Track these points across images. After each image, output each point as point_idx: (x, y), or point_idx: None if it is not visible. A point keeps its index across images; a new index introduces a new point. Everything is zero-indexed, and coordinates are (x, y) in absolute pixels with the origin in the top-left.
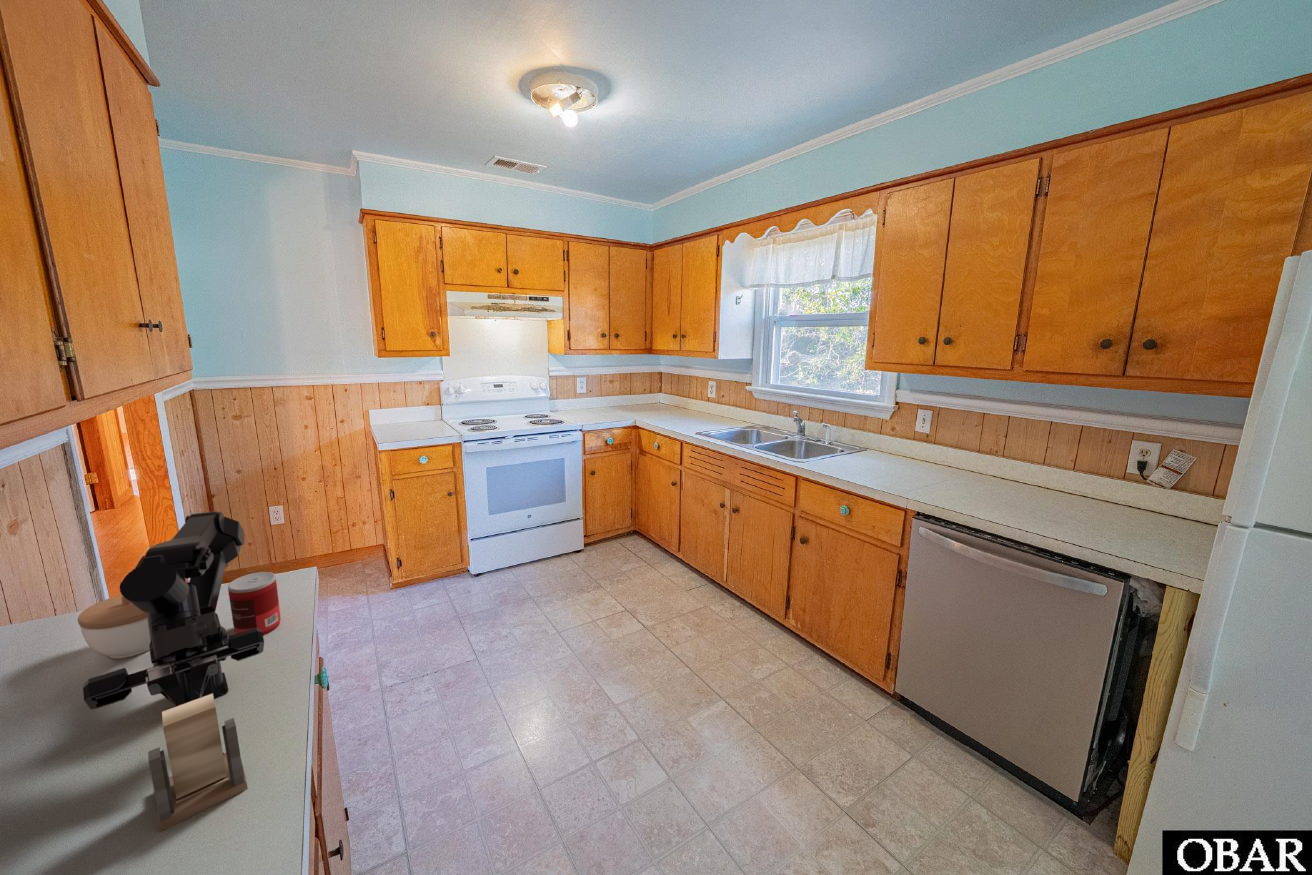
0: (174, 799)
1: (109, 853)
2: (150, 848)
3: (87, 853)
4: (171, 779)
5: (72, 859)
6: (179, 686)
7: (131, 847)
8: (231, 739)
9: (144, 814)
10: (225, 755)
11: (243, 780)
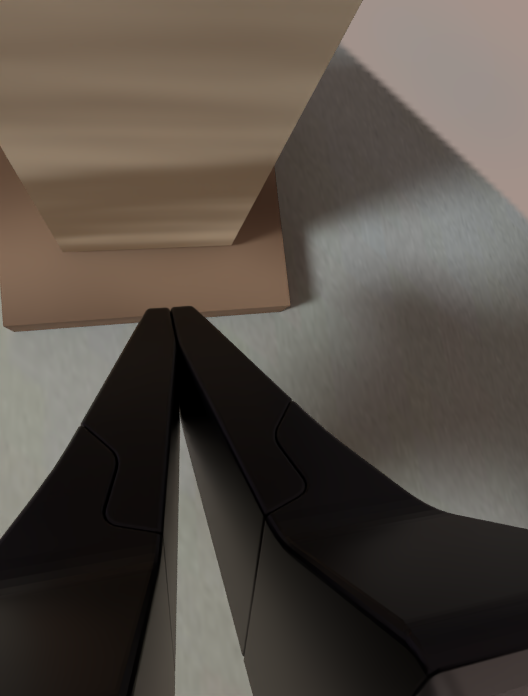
0: None
1: (365, 108)
2: None
3: (414, 153)
4: (244, 286)
5: (442, 157)
6: (280, 532)
7: (318, 87)
8: None
9: (304, 211)
10: (57, 302)
11: None
